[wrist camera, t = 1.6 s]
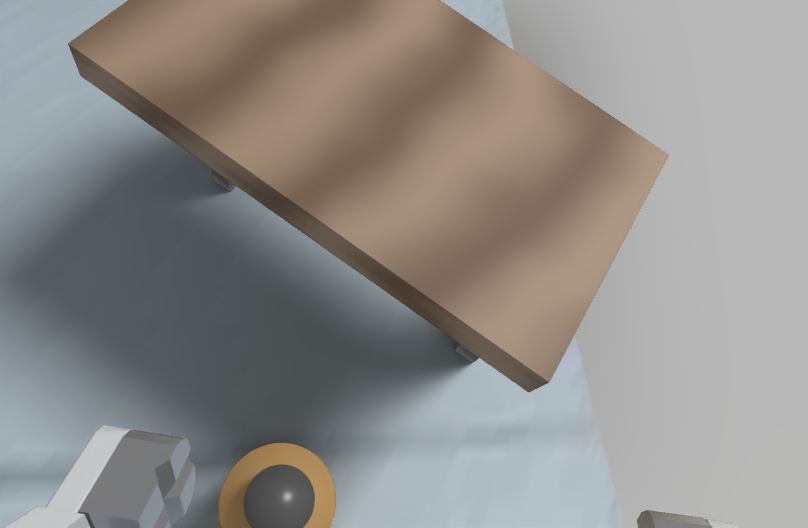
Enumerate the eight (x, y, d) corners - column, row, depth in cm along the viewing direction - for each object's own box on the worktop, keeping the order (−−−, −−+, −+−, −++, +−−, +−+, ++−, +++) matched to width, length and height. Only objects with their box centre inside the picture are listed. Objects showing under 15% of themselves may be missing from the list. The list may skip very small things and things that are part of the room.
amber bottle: (214, 494, 38) (194, 479, 25) (289, 450, 40) (304, 416, 27) (252, 572, 36) (251, 596, 24) (328, 523, 38) (361, 522, 26)
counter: (146, 244, 43) (67, 43, 25) (270, 123, 49) (279, -109, 31) (423, 443, 42) (549, 382, 24) (514, 293, 48) (669, 154, 30)
